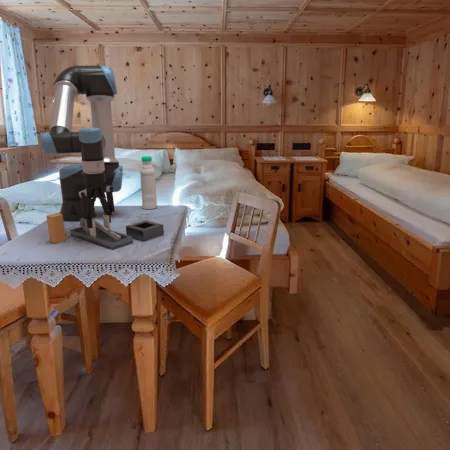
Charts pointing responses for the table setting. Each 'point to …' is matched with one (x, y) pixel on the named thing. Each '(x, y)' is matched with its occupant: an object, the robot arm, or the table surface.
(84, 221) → the bracket
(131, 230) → the socket
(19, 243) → the table surface
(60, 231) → the tan rectangular block
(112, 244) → the tray
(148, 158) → the water bottle
